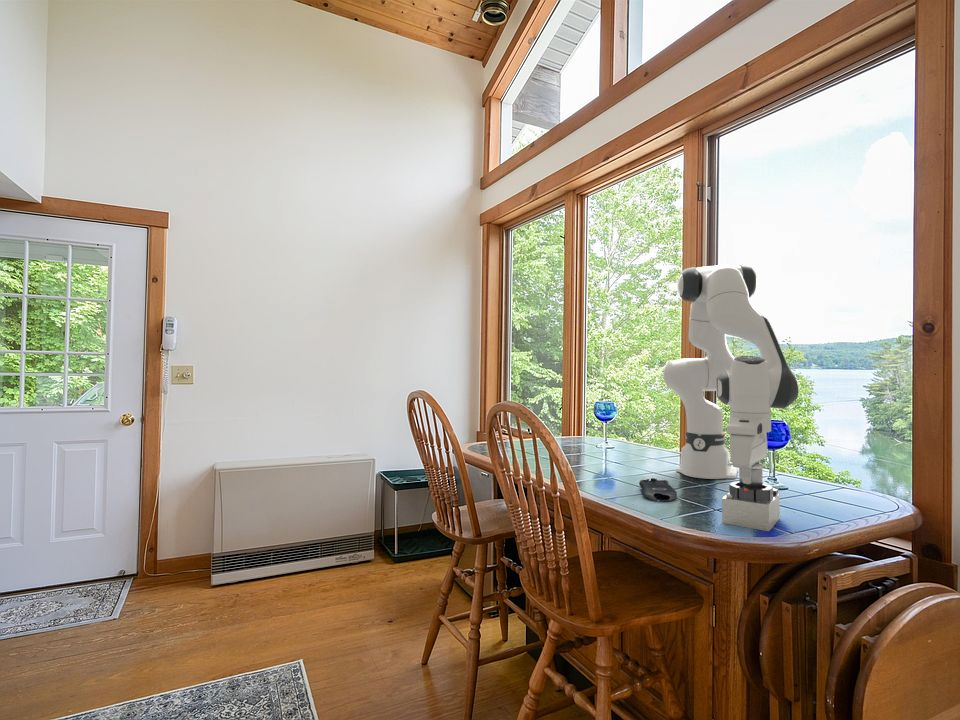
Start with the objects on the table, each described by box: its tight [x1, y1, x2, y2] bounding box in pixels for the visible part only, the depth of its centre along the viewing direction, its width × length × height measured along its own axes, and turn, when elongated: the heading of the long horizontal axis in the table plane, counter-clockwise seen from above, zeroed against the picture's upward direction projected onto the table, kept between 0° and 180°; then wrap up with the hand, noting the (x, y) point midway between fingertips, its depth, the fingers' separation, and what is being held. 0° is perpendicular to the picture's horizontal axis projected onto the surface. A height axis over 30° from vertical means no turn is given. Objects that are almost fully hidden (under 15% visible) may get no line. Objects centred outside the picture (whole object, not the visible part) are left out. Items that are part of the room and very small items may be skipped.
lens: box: [738, 461, 764, 489], centre depth 129 cm, size 5×5×7 cm
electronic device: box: [638, 477, 678, 502], centre depth 154 cm, size 9×6×15 cm
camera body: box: [721, 480, 781, 532], centre depth 129 cm, size 13×10×9 cm
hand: (750, 480), depth 129 cm, fingers closed on lens, 5 cm apart
